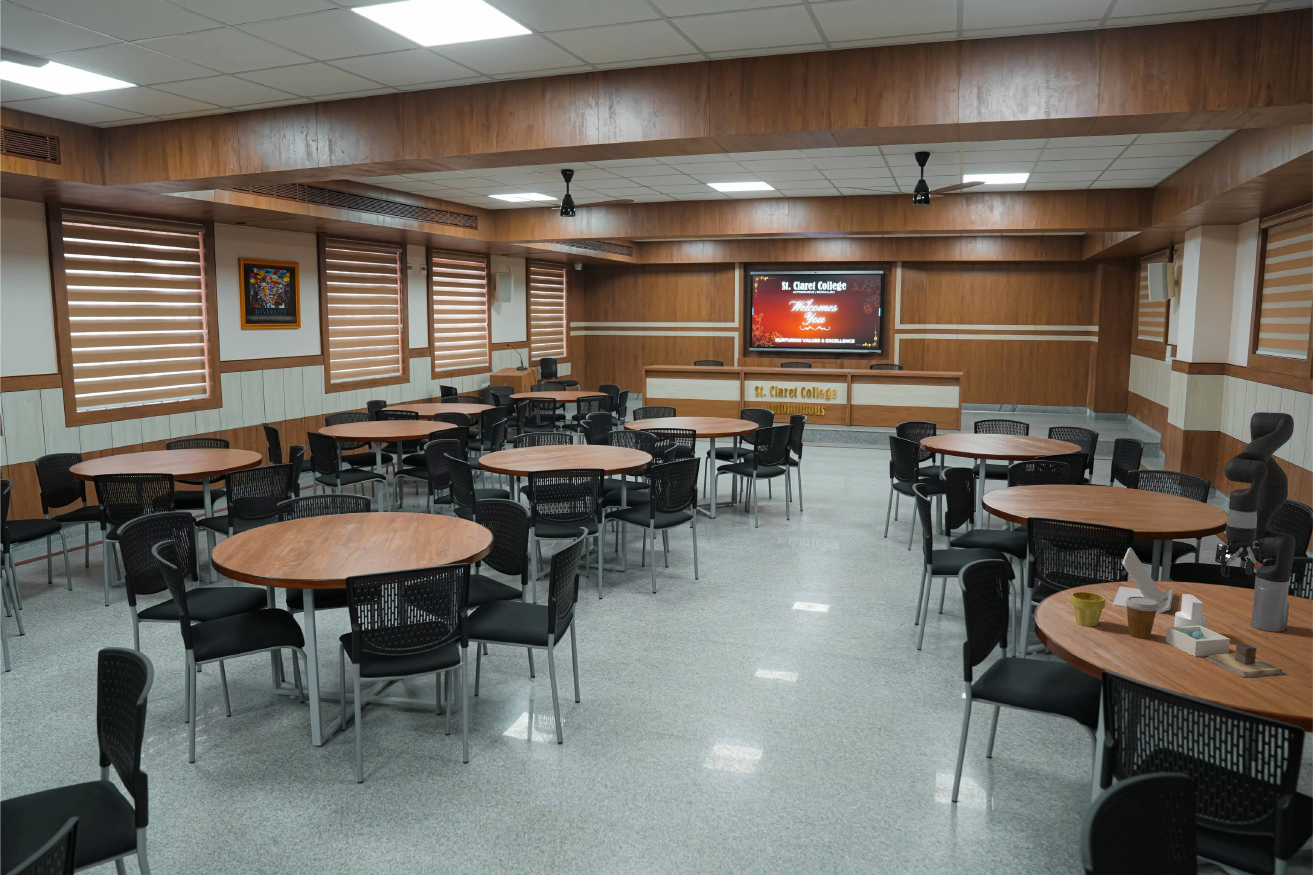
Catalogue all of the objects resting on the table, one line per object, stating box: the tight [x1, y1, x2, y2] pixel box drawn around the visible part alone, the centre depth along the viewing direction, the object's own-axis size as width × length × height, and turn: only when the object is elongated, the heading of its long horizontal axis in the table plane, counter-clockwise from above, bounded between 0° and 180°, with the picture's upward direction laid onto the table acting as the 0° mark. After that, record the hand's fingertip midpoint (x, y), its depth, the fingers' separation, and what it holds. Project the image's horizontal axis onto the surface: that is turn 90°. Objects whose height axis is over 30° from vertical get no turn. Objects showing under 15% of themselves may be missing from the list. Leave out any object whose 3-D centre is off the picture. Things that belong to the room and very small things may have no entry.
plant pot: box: [1070, 591, 1106, 627], centre depth 293 cm, size 10×10×10 cm
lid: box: [1208, 642, 1283, 675], centre depth 257 cm, size 13×13×6 cm
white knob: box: [1173, 593, 1208, 628], centre depth 283 cm, size 9×9×12 cm
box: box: [1165, 625, 1231, 658], centre depth 271 cm, size 12×12×5 cm
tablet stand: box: [1112, 547, 1175, 614], centre depth 316 cm, size 18×25×17 cm
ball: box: [1192, 631, 1204, 640], centre depth 274 cm, size 3×3×3 cm
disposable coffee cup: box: [1126, 596, 1158, 640], centre depth 282 cm, size 10×10×12 cm
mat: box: [1205, 656, 1285, 678], centre depth 257 cm, size 14×14×1 cm
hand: (1236, 575), depth 261 cm, fingers open, 8 cm apart
